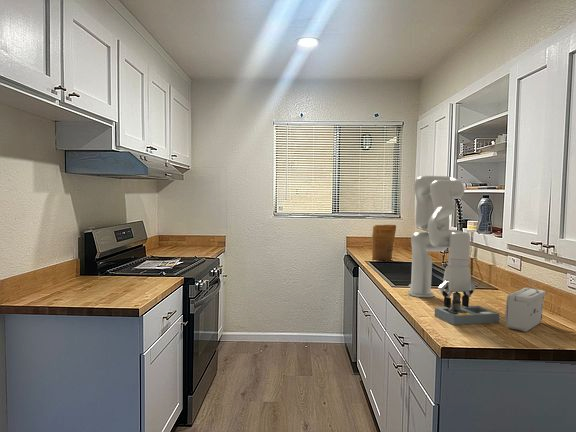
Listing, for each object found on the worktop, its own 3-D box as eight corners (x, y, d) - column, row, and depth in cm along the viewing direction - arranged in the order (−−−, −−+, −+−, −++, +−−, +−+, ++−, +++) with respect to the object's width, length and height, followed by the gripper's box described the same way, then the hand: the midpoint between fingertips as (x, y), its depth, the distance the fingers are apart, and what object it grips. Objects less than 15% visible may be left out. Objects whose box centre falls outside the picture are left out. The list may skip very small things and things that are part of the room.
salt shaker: (459, 317, 166) (460, 288, 165) (466, 322, 160) (467, 292, 160) (445, 317, 166) (446, 288, 165) (451, 321, 160) (453, 291, 159)
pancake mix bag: (396, 261, 312) (397, 225, 310) (371, 261, 310) (373, 224, 309) (393, 260, 319) (394, 224, 317) (369, 259, 317) (370, 223, 315)
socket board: (434, 316, 167) (435, 306, 167) (477, 313, 173) (478, 304, 172) (453, 325, 156) (454, 315, 155) (499, 322, 161) (499, 312, 161)
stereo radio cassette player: (522, 318, 168) (525, 270, 167) (544, 323, 162) (548, 273, 161) (503, 328, 154) (506, 275, 153) (527, 334, 148) (531, 279, 147)
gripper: (470, 261, 168) (468, 303, 168) (433, 261, 163) (431, 305, 164) (483, 264, 160) (481, 308, 161) (445, 265, 156) (443, 310, 157)
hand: (456, 306), depth 163 cm, fingers open, 7 cm apart
